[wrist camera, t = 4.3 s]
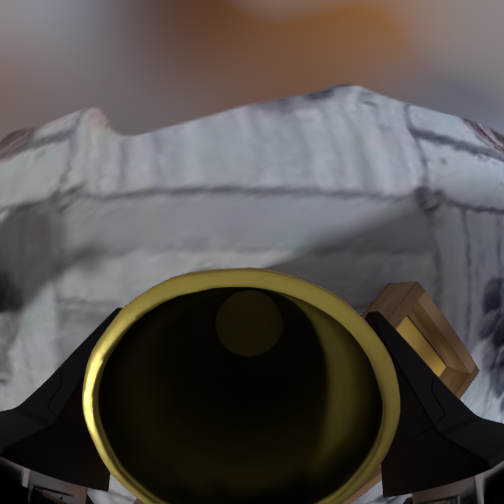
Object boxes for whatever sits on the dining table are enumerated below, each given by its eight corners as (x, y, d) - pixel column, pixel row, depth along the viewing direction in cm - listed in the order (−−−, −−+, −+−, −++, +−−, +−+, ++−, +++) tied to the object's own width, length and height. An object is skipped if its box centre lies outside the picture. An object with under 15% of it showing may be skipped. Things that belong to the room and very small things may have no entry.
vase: (189, 345, 17) (51, 466, 3) (222, 260, 18) (123, 173, 4) (275, 379, 17) (319, 556, 3) (310, 294, 18) (472, 312, 3)
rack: (453, 360, 17) (481, 369, 13) (221, 540, 15) (218, 565, 11) (390, 281, 18) (419, 279, 14) (140, 491, 15) (126, 515, 12)
